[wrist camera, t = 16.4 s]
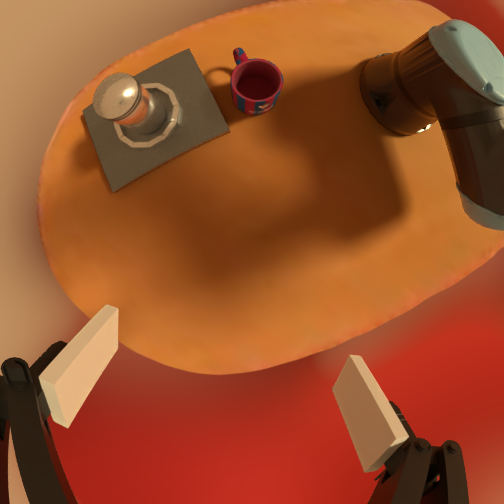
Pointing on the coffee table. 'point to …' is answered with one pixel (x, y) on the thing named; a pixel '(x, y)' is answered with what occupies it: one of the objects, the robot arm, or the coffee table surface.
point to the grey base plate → (172, 129)
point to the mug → (254, 84)
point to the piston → (128, 104)
